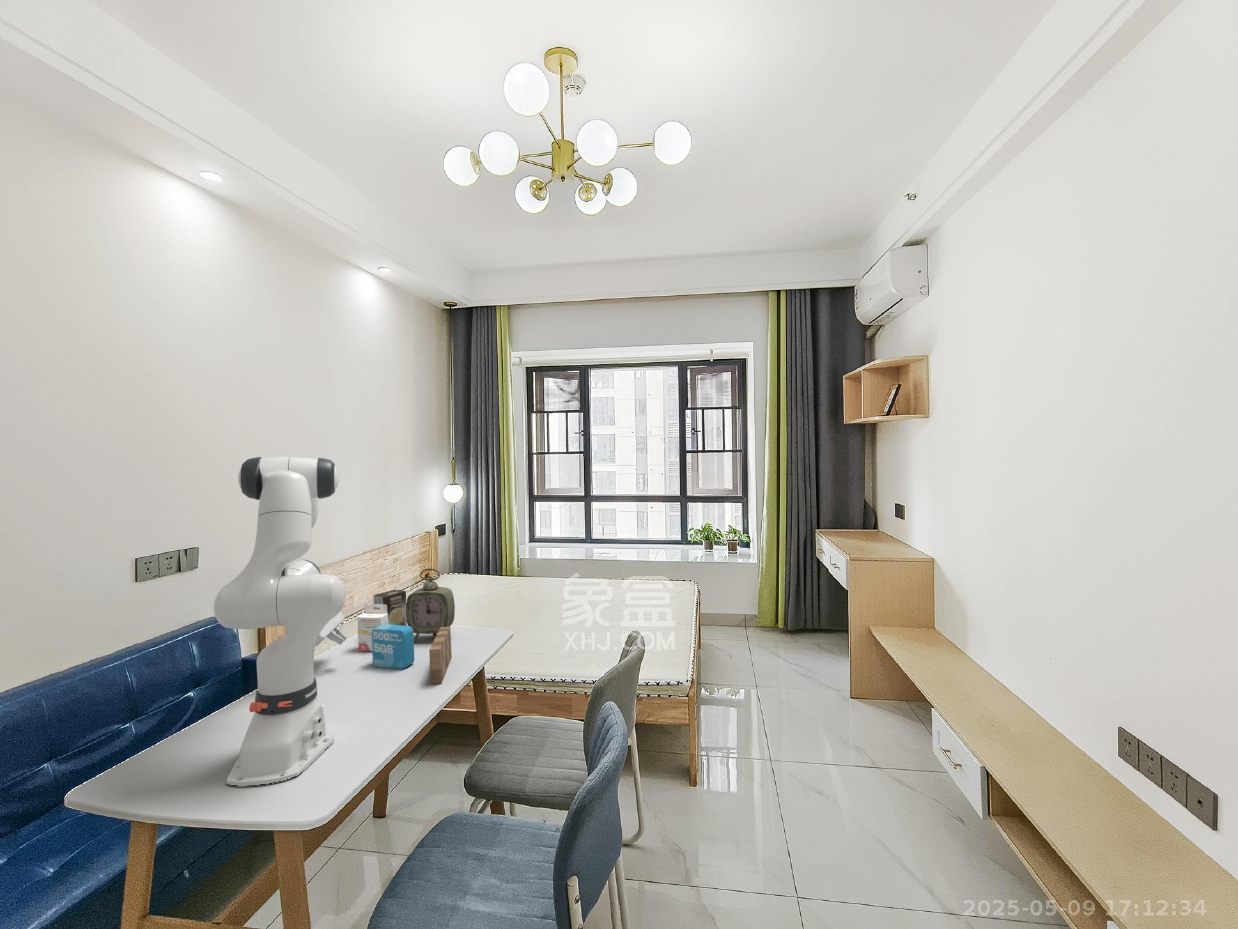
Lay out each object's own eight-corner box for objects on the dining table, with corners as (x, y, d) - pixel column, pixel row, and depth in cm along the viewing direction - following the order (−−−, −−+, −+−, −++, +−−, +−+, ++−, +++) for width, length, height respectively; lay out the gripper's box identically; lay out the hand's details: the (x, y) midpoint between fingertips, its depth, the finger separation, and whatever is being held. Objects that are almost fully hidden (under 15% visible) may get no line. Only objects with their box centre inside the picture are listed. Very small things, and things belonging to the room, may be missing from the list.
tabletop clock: (407, 644, 197) (404, 571, 196) (417, 635, 206) (414, 565, 205) (449, 643, 197) (446, 570, 196) (457, 634, 206) (454, 565, 205)
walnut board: (441, 683, 164) (440, 649, 163) (430, 684, 163) (429, 649, 163) (451, 657, 184) (450, 626, 183) (441, 658, 183) (440, 627, 183)
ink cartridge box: (357, 652, 191) (355, 608, 190) (365, 646, 196) (363, 603, 195) (382, 652, 190) (380, 608, 190) (390, 647, 195) (388, 603, 194)
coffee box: (386, 643, 199) (384, 597, 198) (374, 640, 202) (372, 595, 201) (408, 635, 207) (406, 590, 206) (396, 632, 210) (394, 588, 209)
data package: (372, 666, 178) (370, 628, 178) (382, 661, 182) (380, 623, 182) (405, 669, 175) (404, 630, 174) (415, 664, 179) (413, 626, 179)
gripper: (302, 614, 164) (340, 645, 166) (327, 595, 185) (360, 623, 187) (286, 631, 164) (324, 662, 166) (313, 610, 184) (346, 638, 186)
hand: (343, 641), depth 176 cm, fingers closed
